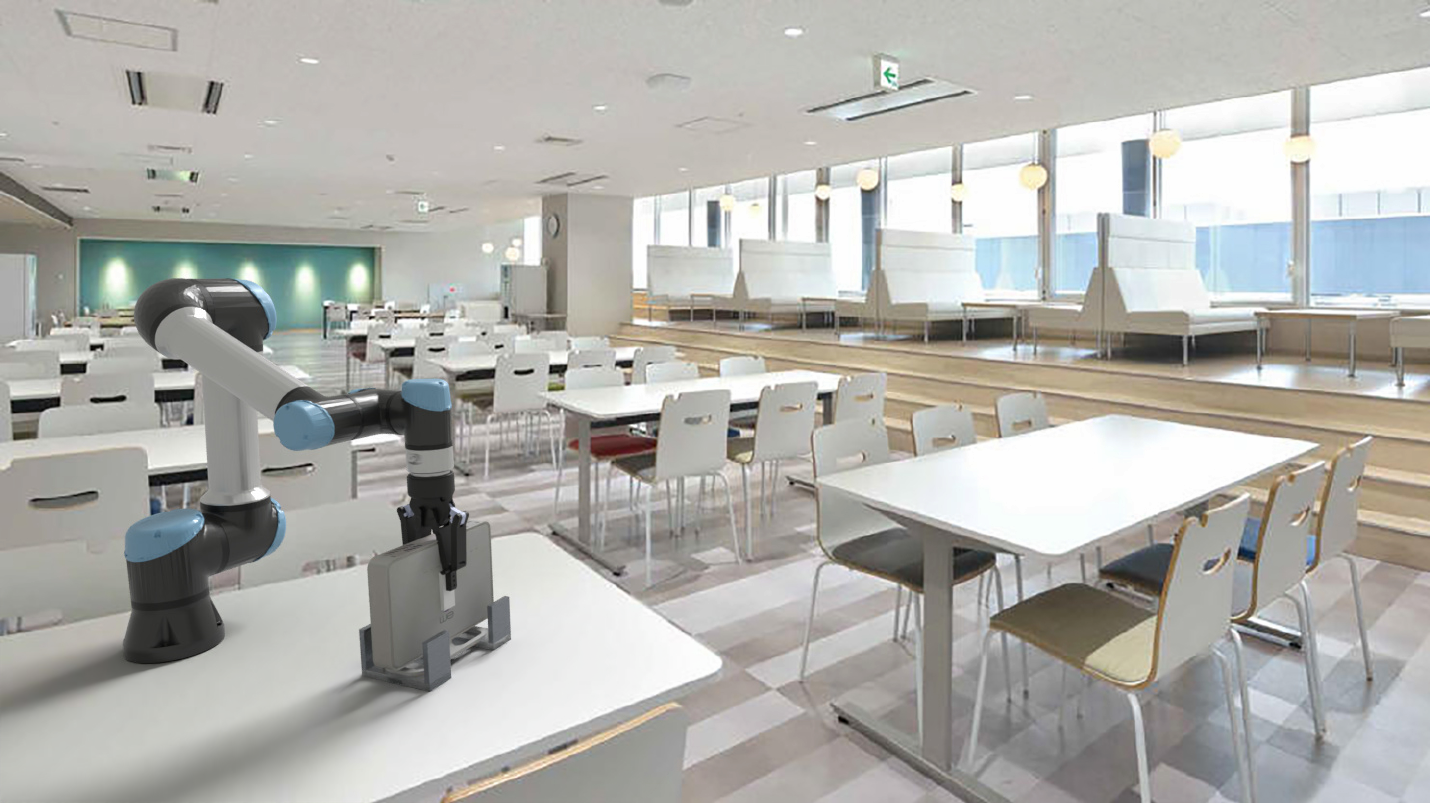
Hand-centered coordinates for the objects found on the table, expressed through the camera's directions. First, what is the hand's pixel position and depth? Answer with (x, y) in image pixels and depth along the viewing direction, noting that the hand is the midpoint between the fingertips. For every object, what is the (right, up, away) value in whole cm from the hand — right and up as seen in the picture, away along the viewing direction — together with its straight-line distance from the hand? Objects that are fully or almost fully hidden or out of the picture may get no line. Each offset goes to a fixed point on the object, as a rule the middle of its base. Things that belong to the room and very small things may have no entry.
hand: (437, 605), depth 140 cm
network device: (0, -8, +1) cm, 8 cm away
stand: (0, -9, +1) cm, 9 cm away
